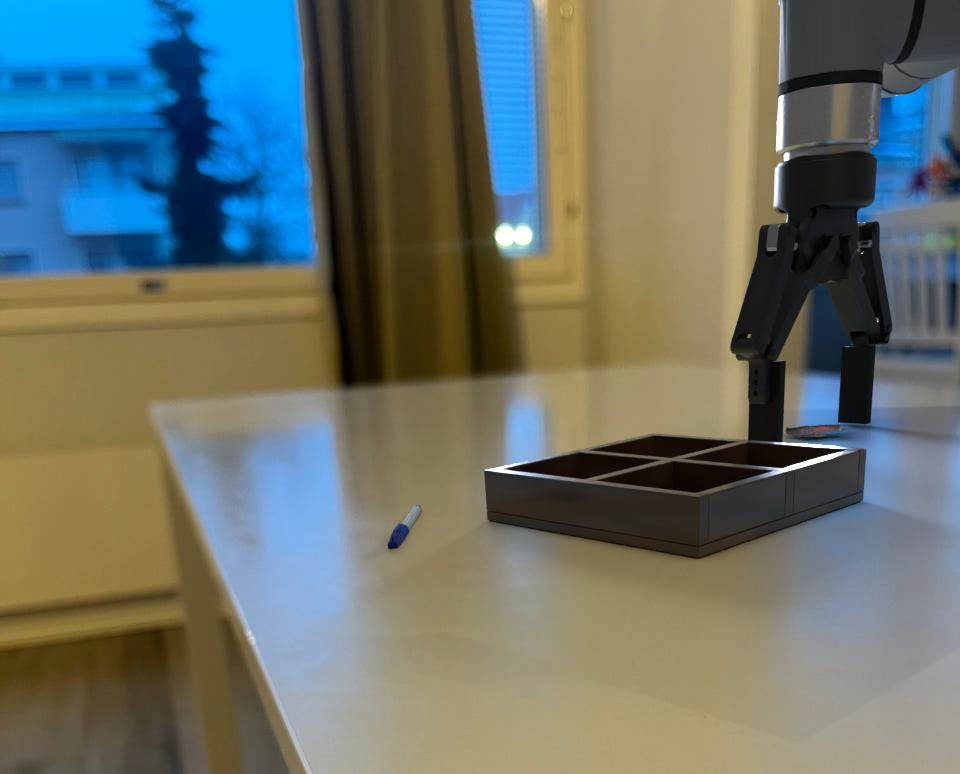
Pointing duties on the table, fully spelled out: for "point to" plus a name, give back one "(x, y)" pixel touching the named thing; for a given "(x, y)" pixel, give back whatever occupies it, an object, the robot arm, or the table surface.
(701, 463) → the grid
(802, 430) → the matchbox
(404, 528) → the blue and white marker
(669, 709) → the table surface
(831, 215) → the robot arm
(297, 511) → the table surface
